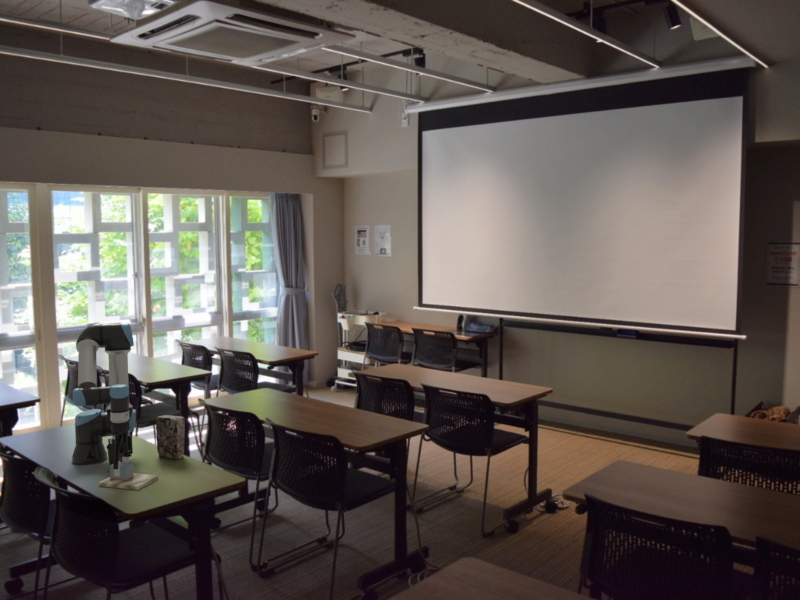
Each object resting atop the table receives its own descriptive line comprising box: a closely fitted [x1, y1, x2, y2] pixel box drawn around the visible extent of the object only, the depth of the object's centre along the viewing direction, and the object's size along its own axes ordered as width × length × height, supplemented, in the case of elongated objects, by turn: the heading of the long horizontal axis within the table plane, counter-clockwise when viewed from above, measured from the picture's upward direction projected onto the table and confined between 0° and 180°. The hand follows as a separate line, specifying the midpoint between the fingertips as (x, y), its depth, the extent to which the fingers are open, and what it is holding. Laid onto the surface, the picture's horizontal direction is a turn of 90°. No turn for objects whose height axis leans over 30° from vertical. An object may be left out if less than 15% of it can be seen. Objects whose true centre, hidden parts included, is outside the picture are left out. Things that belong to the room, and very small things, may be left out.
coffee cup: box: [105, 443, 125, 468], centre depth 304 cm, size 9×8×13 cm
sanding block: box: [109, 462, 135, 480], centre depth 289 cm, size 8×5×6 cm, turn 76°
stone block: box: [155, 414, 186, 460], centre depth 322 cm, size 13×7×20 cm, turn 74°
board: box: [98, 472, 159, 491], centre depth 288 cm, size 19×14×2 cm
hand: (121, 473), depth 289 cm, fingers closed on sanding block, 5 cm apart
